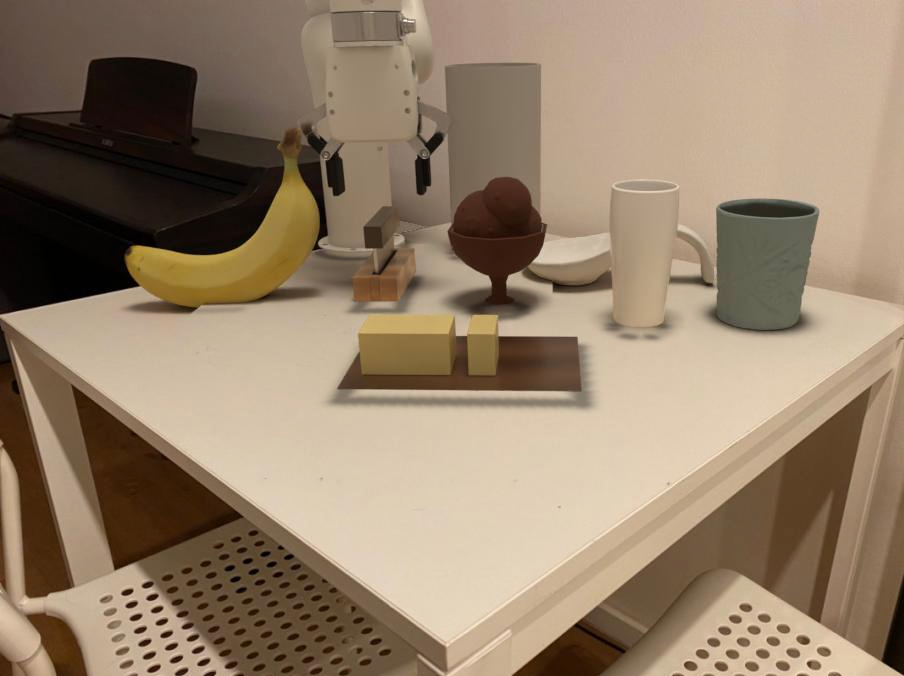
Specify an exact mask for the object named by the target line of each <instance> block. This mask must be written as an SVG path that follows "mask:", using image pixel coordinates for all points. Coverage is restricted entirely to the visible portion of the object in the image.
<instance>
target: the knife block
mask: <svg viewBox="0 0 904 676" xmlns="http://www.w3.org/2000/svg"><path fill="white" fill-rule="evenodd" d="M394 252H395V255H394V256H393V258H392V259H391V261H390V262H389V263H388V265H387V266H386V268H385V269H384V271H383V272H382V273H381V275H375V265H374V253H373V251H371V253H370V254H369V256H368V257H367V259H366V260H365V261H364V262H363V263H362V264H361V266H360V267H359V269H358V270H357V271H356V272H355V273H354V275H353V276H352V277H351V278H352V290H353V299H354V300H353V301H354V302H399V300H400V299H401V298H402V297H403V295H404V293H406V290H407V288H408V286H409V285H410V283H411V281H412V279H413V277H414V276H415V274H416V272H417V268H416V267H417V266H416V249H415V247H394Z"/></svg>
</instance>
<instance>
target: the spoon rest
mask: <svg viewBox="0 0 904 676" xmlns="http://www.w3.org/2000/svg"><path fill="white" fill-rule="evenodd" d="M676 238H678V239H680V240H682V241H684V242H686V243H687V244H689V245H690V246H691V247H693V249H694V250H695V251H696V253H697V254H698V257H699V261H700V262H699V263H700V275H701V278H702V280H703V281H704V282H705V283H706V284H707V283H708V284H712V283H714V281H715V266H714V261H713V257H712V256H711V253H710V251H709V249H708V247H707V244H706V243H705V241H704V240H703V238H702V237H701V236H700V235H699V234H698V233H697V232H695V231H694V230H692V229H691V228H689V227H687V226H685V225H682V224H680V223H678V228H677V235H676ZM527 267H528V269H529V270H530V271H531V272H532V273H533V274H535V275H536V276H537V277H540V278H541V279H545V280H549V281H552V283H553V284H556V285H561V286H583V285H589V284H592V283H594V282H596V281H597V280H598V279H599V277H601V276H602V275H604V274H605V273H606V272H607V271H608V270H610V269H611V252H610V231H608V232H603V233H597V234H591V235H585V236H584V235H583V236H577V237H567V238H561V239H560V238H559V239H553V240H548V241H544V244H543V247H542V249H541V251H540V253H539V256H538V257H537V258H536V259H535V260H534V261H533V262H532V263H531V264H530V265H529V266H527Z"/></svg>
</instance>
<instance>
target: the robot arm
mask: <svg viewBox="0 0 904 676" xmlns="http://www.w3.org/2000/svg"><path fill="white" fill-rule="evenodd" d="M304 4H305V7H306V11H307V12H308V14H309V16H310V19H309V20H308V21H306V23H305V24H304V25H303V28H302V29H301V35H300V46H301V47H300V48H301V53H302V59H303V62H304V67H305V71H306V74H307V78H308V83H309V86H310V92H311V96H312V101H313V102H312V104H313V110H311V111H309V112H307V113H306V114H305V115H302V116H301V117H300V118H298V119H297V121H296V124H297V127H298V128H300V129H301V130H302V135H303V136H304V138H305V139H306V141H307V144H308V145H309V146H310V147H311V148H312V149H313V150H314V152H316V153H317V154H318V155H319V161H320V170H321V181H322V191H323V201H324V209H325V210H324V211H325V219H326V229H327V230H326V231H327V236H323V237H322V238H321V239H319V240H318V242H317V246H318V247H319V248H320V249H322V250H325V251H329V252H335V253H348V254H351V253H352V254H353V253H355V254H356V253H358V254H359V253H369V252H371V253H372V252H373V249H365V242H364V230H363V227H364V225H365V224H366V223H367V222H368V221H369V220H370V219H371V218H372V217H373V216H374V215H375V214H376V213H377V212H378V211H379V210H380V209H381V208H382V207H383V206H393V202H392V189H391V188H392V187H391V173H390V160H389V147H388V145H389V144H388V143H401V142H406V143H407V144H408V145H409V146H410V147H411V149H412V150H413V151H414V152H415V153H416V159H415V160H414V172H415V187H416V188H415V189H416V195H418V196H424V195H425V194H426V193H427V191H428V187H431V186H432V167H431V156H432V155H433V154H434V153H435V151H436V150H437V149H438V148H439V147H440V146H441V144H442V143H443V142H444V141H445V139H446V136H447V135H448V133H447V132H448V130H449V128H450V125H451V123H452V121H453V118H452V116H451V115H449V114H447V112H445V111H443V110H441V109H439V108H437V107H435V106H433V105H431V104H429V103H427V102H425V101H423V100H422V99H421V91H420V85H422V84H424V83H426V82H427V81H428V80H429V78H430V77H431V76H432V74H433V72H434V67H435V49H434V48H435V47H434V41H433V36H432V32H431V28H430V23H429V20H428V16H427V12H426V9H425V8H426V7H425V4H424V0H304ZM423 117H425V118H427V119H429V120H430V121H431V120H432V121H433V122H435V123H436V128H435V130H434V133H433V134H432V136H431V137H430V138H429V139H428V140H426V139H425V138H424V136H423V135H422V132H423V125H424V124H423ZM393 238H394V248H397V247H399V246H400V245H405V244H406V238H405V236H404V235H403V234H401V233H398V232H397V231H396V232H395V233H394V234H393Z"/></svg>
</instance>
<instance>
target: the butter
mask: <svg viewBox="0 0 904 676" xmlns="http://www.w3.org/2000/svg"><path fill="white" fill-rule="evenodd" d="M456 328H457V327H456V315H455V314H400V313H399V314H398V313H397V314H394V313H393V314H390V313H389V314H387V313H386V314H384V313H382V314H381V313H380V314H378V313H376V314H375V313H373V314H371V313H369V315H368V317H367V318H366V319H365V321H364V323H363V324H362V326H361V327H360V329H359V331H358V332H357V340H358V348H359V349H358V350H359V351H360V361H361V372H362V375H451V371H452V368H453V365H454V361H455V358H456V355H457V351H456V336H457V331H456V330H457V329H456Z"/></svg>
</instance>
